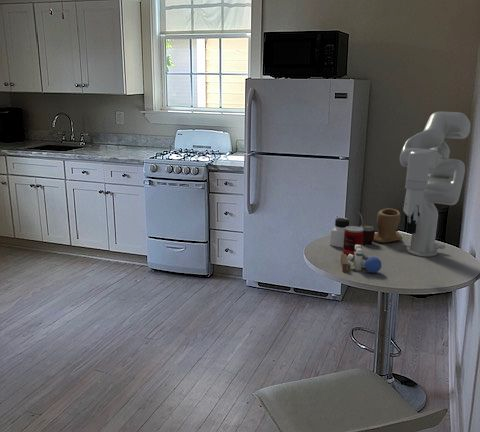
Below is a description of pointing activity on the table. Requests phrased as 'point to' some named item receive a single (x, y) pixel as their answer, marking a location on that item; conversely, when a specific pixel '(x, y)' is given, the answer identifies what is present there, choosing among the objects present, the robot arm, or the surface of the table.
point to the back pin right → (355, 250)
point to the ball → (373, 264)
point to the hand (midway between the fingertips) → (410, 232)
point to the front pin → (353, 258)
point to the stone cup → (387, 225)
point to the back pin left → (358, 259)
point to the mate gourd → (367, 233)
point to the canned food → (352, 239)
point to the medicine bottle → (338, 232)
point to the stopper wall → (344, 262)
